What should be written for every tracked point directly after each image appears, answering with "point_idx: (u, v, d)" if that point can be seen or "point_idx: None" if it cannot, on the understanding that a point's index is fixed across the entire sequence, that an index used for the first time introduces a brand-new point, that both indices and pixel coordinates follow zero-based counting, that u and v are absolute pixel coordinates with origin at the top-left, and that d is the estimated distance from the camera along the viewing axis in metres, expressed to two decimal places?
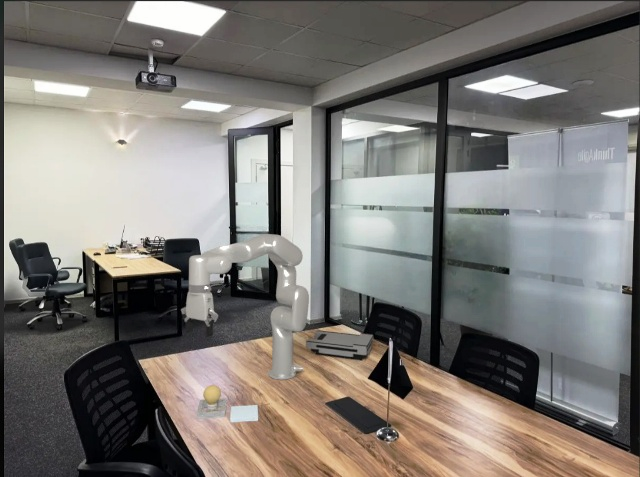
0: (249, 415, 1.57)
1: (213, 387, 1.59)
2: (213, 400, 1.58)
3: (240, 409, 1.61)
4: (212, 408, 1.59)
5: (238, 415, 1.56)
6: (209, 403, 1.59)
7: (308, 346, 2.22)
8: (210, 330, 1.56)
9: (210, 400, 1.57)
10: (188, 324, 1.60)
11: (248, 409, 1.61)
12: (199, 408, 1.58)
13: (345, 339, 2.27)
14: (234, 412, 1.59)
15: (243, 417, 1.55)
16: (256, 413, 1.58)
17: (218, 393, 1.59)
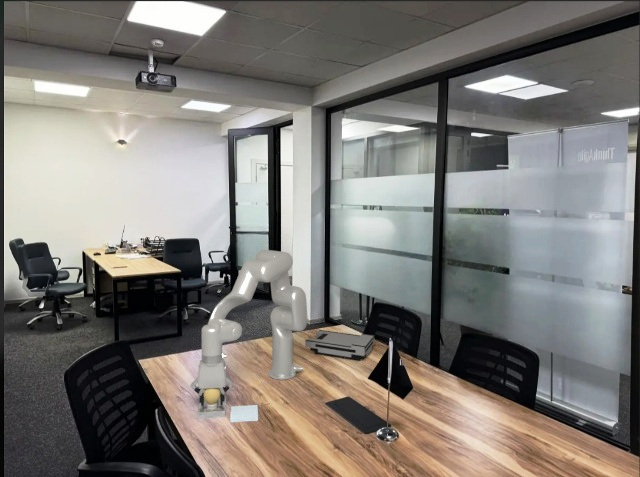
0: (249, 415, 1.57)
1: None
2: (213, 400, 1.58)
3: (240, 409, 1.61)
4: (212, 408, 1.59)
5: (238, 415, 1.56)
6: (209, 403, 1.59)
7: (307, 345, 2.23)
8: (224, 397, 1.61)
9: (210, 400, 1.57)
10: (203, 397, 1.59)
11: (248, 409, 1.61)
12: (199, 408, 1.58)
13: (346, 339, 2.27)
14: (234, 412, 1.59)
15: (243, 417, 1.55)
16: (256, 413, 1.58)
17: (218, 393, 1.59)
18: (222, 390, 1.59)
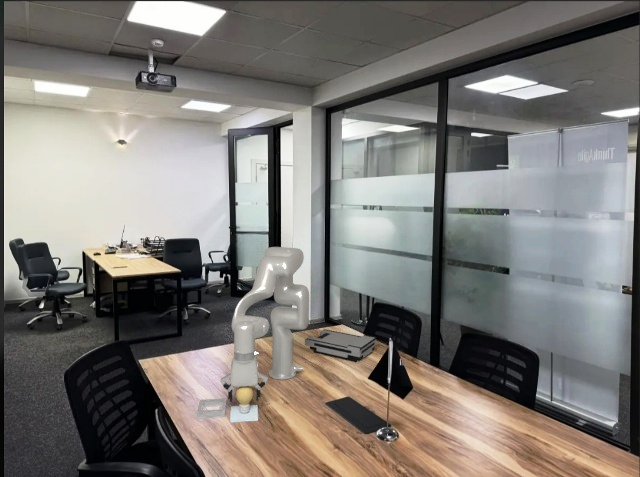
0: (249, 415, 1.57)
1: (246, 387, 1.57)
2: (246, 400, 1.56)
3: None
4: (245, 408, 1.57)
5: (238, 415, 1.56)
6: (242, 403, 1.57)
7: (307, 344, 2.26)
8: None
9: (243, 400, 1.55)
10: None
11: None
12: (199, 408, 1.58)
13: (346, 339, 2.26)
14: (234, 412, 1.59)
15: (243, 417, 1.55)
16: (256, 413, 1.58)
17: (251, 393, 1.57)
18: (257, 386, 1.57)
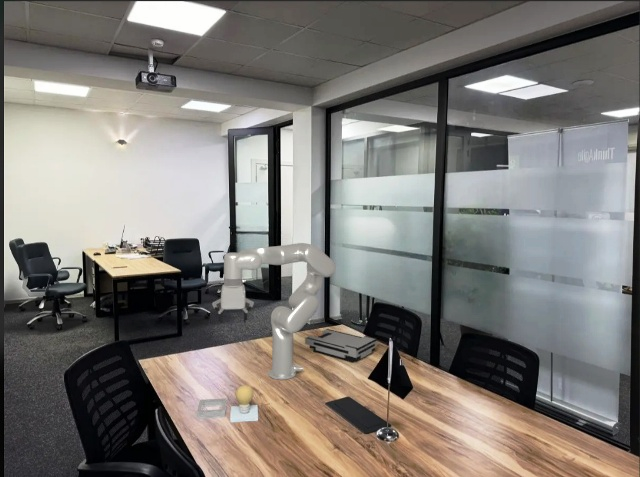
0: (249, 415, 1.57)
1: (246, 387, 1.57)
2: (246, 400, 1.56)
3: None
4: (245, 408, 1.57)
5: (238, 415, 1.56)
6: (242, 403, 1.57)
7: (307, 342, 2.27)
8: None
9: (243, 400, 1.55)
10: (222, 315, 1.78)
11: None
12: (199, 408, 1.58)
13: (346, 340, 2.26)
14: (234, 412, 1.59)
15: (243, 417, 1.55)
16: (256, 413, 1.58)
17: (251, 393, 1.57)
18: (245, 309, 1.79)
